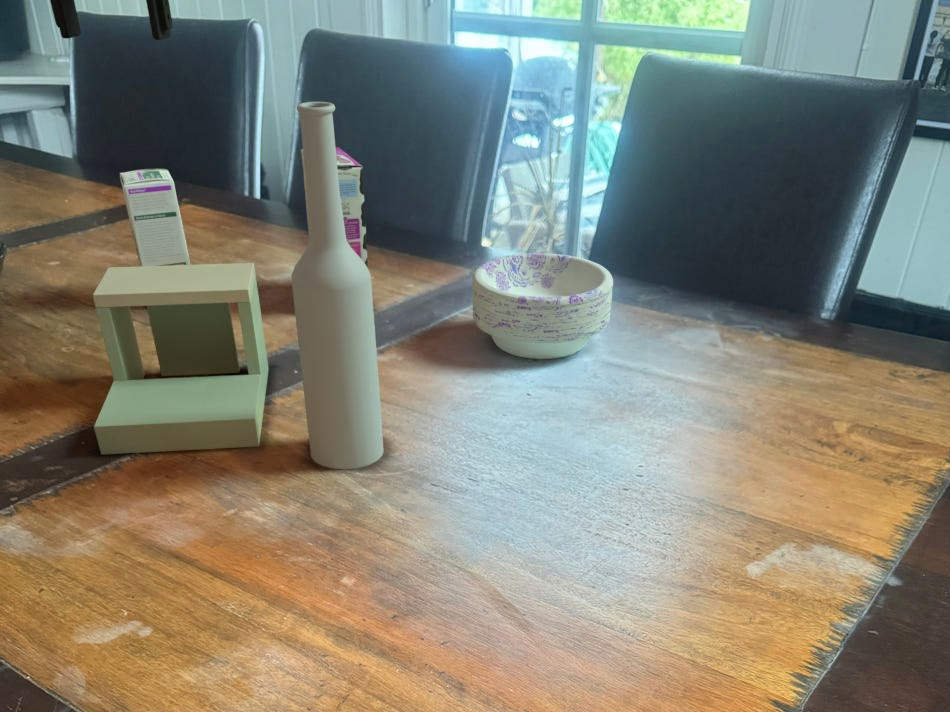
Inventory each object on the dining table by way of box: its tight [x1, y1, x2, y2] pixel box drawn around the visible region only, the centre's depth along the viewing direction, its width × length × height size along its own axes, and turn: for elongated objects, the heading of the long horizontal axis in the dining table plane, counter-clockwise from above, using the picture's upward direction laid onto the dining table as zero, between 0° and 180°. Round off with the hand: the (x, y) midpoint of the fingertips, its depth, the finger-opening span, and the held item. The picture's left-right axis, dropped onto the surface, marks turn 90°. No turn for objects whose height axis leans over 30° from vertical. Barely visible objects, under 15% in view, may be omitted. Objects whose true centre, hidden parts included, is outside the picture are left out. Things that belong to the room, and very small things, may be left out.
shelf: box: [92, 262, 270, 455], centre depth 89 cm, size 14×18×11 cm
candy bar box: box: [300, 146, 369, 269], centre depth 112 cm, size 11×5×16 cm, turn 21°
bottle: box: [290, 101, 385, 470], centre depth 77 cm, size 7×7×28 cm
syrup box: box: [119, 168, 191, 266], centre depth 112 cm, size 6×6×14 cm
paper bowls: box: [472, 252, 614, 360], centre depth 104 cm, size 15×15×8 cm
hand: (117, 37), depth 97 cm, fingers open, 9 cm apart
